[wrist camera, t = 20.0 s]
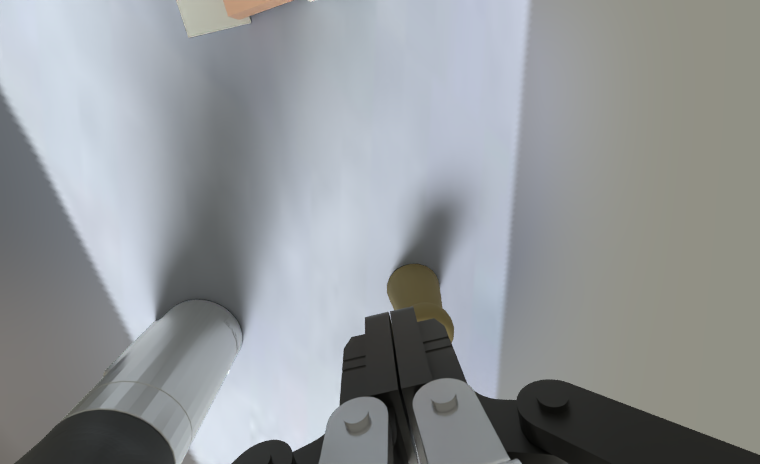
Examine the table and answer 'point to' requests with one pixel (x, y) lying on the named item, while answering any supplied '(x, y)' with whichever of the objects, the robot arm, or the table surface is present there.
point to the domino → (249, 7)
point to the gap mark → (206, 17)
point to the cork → (418, 294)
